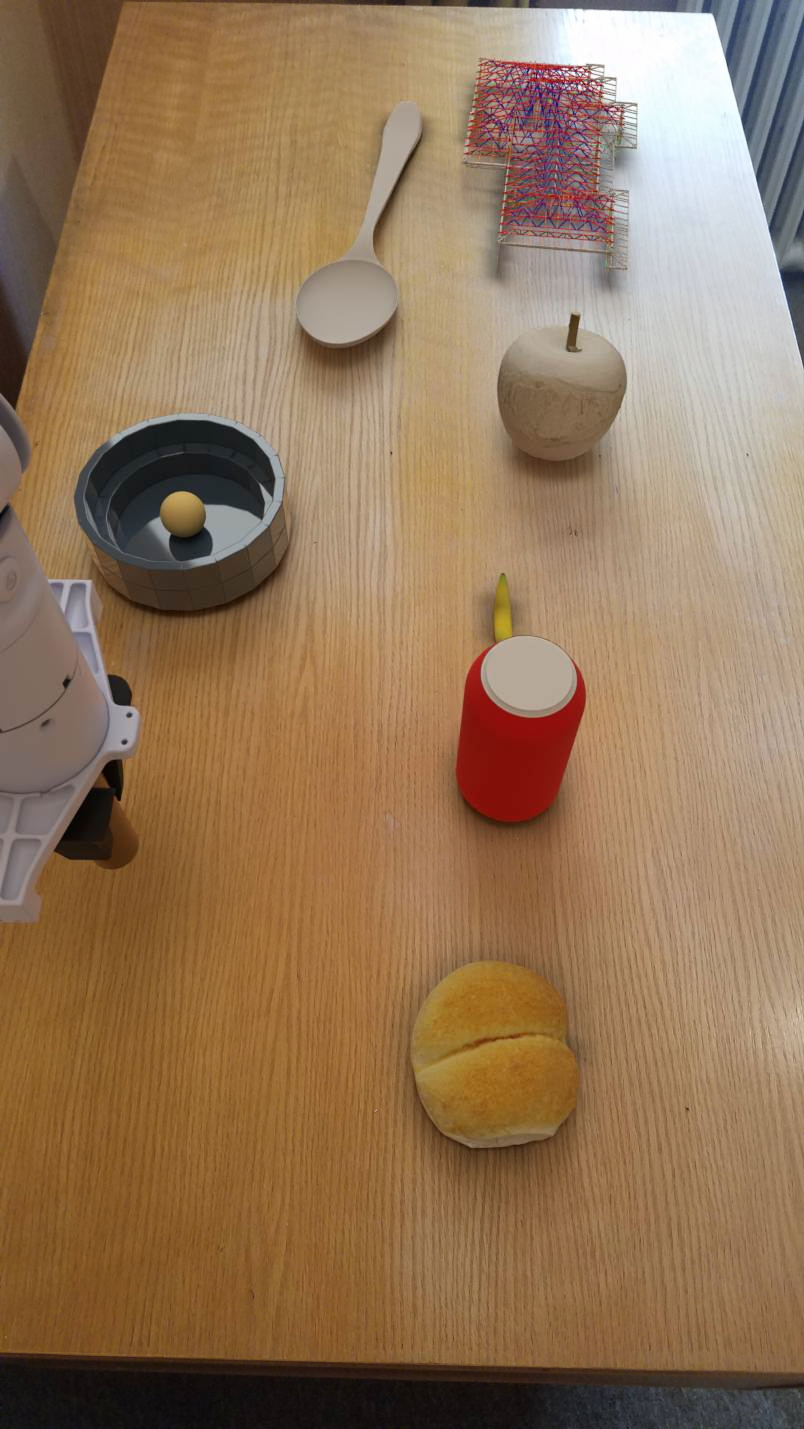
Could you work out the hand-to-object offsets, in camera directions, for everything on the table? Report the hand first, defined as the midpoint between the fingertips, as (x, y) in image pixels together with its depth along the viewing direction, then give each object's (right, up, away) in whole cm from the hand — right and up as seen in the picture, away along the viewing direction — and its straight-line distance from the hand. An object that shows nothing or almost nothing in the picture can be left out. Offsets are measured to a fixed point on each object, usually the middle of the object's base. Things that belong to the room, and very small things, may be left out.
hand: (95, 823), depth 48 cm
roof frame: (+27, +53, +43) cm, 73 cm away
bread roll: (+19, -13, +5) cm, 24 cm away
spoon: (+12, +46, +39) cm, 62 cm away
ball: (0, +18, +20) cm, 27 cm away
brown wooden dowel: (0, -1, +3) cm, 3 cm away
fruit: (+21, +11, +19) cm, 30 cm away
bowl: (0, +17, +22) cm, 28 cm away
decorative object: (+25, +25, +27) cm, 45 cm away
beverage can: (+21, +1, +13) cm, 24 cm away
